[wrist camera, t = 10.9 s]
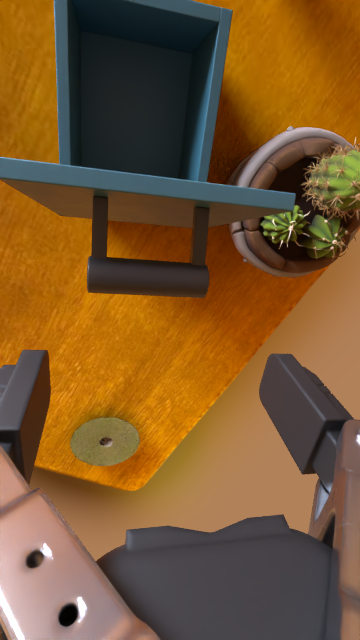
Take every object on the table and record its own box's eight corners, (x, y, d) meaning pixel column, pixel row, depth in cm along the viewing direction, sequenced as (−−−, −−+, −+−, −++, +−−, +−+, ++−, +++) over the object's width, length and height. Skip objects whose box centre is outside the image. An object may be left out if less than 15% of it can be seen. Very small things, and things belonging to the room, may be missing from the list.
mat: (121, 463, 61) (121, 472, 59) (61, 448, 57) (59, 457, 55) (150, 420, 57) (151, 428, 56) (88, 401, 53) (87, 409, 51)
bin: (71, 19, 32) (52, -34, 22) (200, 47, 34) (232, 10, 25) (74, 193, 39) (60, 210, 29) (181, 205, 41) (200, 223, 32)
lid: (-5, 155, 13) (0, 295, 14) (296, 193, 15) (280, 307, 17) (60, 206, 29) (59, 268, 30) (202, 220, 32) (197, 277, 33)
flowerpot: (285, 265, 48) (382, 335, 30) (188, 231, 43) (238, 289, 26) (339, 161, 42) (497, 173, 25) (235, 108, 38) (339, 77, 20)
